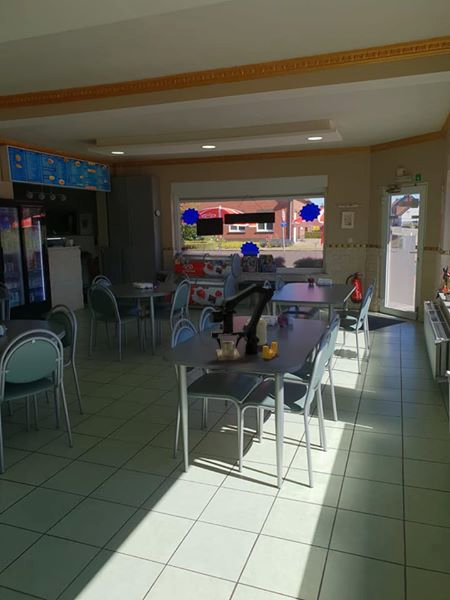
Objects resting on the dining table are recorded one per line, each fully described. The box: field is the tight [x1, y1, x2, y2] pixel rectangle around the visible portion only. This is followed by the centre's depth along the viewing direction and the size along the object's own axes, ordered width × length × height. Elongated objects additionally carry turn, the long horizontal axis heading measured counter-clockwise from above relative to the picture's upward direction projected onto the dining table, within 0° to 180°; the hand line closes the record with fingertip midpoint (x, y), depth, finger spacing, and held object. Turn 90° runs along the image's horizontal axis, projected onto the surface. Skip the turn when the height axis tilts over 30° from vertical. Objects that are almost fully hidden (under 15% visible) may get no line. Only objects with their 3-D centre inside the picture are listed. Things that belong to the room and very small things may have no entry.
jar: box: [245, 317, 268, 347], centre depth 285 cm, size 13×13×18 cm
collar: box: [221, 340, 235, 355], centre depth 260 cm, size 6×6×6 cm
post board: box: [215, 348, 242, 361], centre depth 260 cm, size 12×18×6 cm, turn 6°
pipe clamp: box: [262, 341, 278, 360], centre depth 259 cm, size 12×4×6 cm, turn 146°
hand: (228, 349), depth 260 cm, fingers open, 8 cm apart
